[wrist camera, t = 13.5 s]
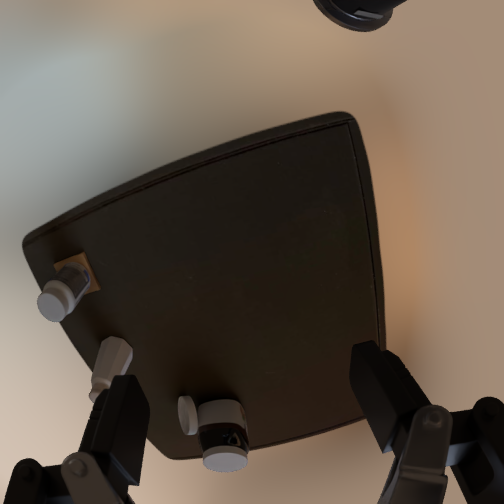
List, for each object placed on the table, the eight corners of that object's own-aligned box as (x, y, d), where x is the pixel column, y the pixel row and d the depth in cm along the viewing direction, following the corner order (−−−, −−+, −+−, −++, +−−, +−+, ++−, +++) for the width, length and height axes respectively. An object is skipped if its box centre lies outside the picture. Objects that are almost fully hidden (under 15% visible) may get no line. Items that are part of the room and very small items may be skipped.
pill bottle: (61, 258, 36) (31, 286, 28) (91, 264, 37) (65, 294, 29) (63, 289, 37) (37, 320, 30) (91, 295, 38) (69, 329, 30)
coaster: (54, 263, 36) (53, 264, 36) (84, 251, 36) (82, 253, 36) (71, 297, 39) (70, 299, 38) (101, 287, 39) (100, 289, 38)
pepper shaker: (108, 329, 41) (84, 379, 31) (139, 347, 42) (123, 399, 32) (96, 351, 42) (75, 400, 32) (126, 367, 44) (110, 418, 34)
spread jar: (249, 421, 51) (256, 472, 40) (191, 429, 51) (189, 479, 40) (235, 380, 46) (240, 437, 36) (169, 389, 46) (161, 445, 35)
